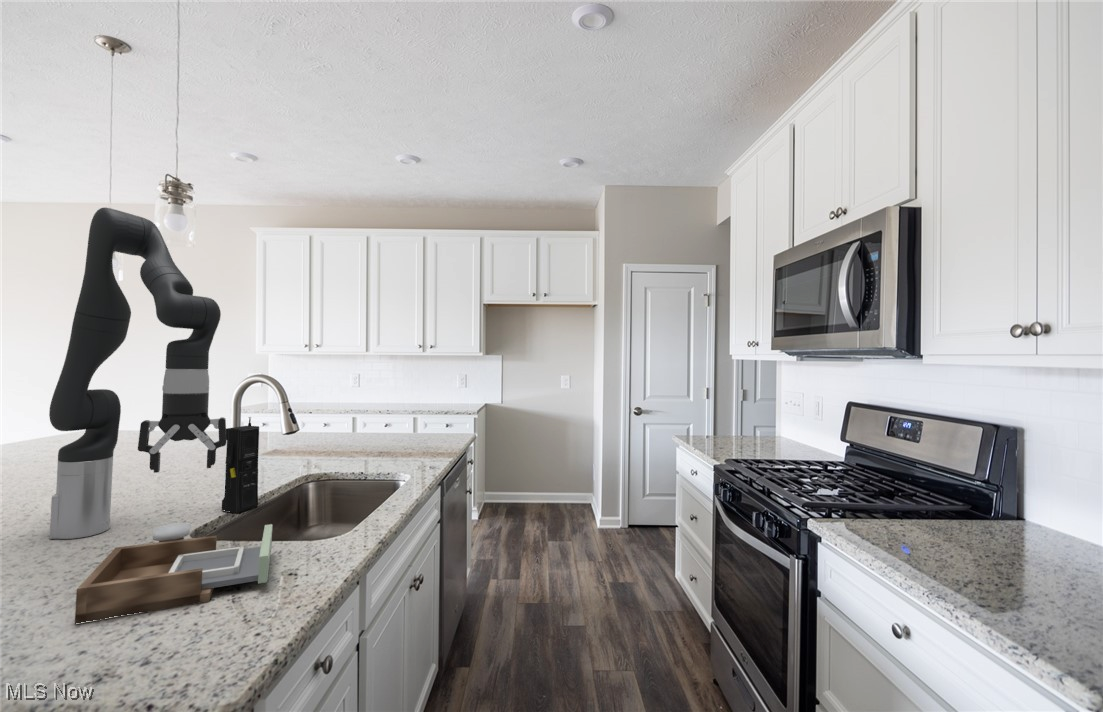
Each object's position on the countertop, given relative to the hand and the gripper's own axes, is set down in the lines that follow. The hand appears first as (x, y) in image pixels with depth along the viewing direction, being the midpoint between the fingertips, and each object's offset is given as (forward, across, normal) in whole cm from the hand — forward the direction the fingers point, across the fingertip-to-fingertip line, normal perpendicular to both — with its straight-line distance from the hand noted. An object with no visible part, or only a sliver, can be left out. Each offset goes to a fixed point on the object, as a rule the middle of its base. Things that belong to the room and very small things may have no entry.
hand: (183, 469), depth 97 cm
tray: (+17, -7, +13) cm, 23 cm away
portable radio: (+18, -10, -33) cm, 39 cm away
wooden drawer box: (+19, +2, +12) cm, 23 cm away
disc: (+14, +2, -2) cm, 14 cm away
